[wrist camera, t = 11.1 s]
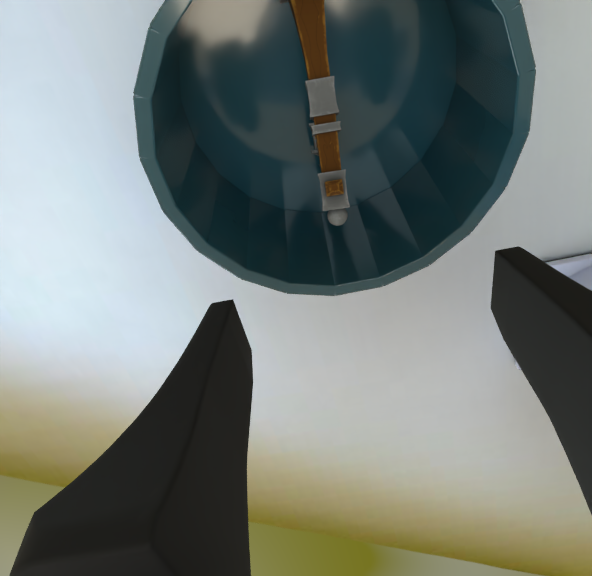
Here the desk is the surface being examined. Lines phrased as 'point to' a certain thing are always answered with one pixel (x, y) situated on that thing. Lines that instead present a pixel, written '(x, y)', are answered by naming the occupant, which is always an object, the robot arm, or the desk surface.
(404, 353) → the desk surface
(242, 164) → the teal round bowl
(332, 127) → the wooden post with brackets
